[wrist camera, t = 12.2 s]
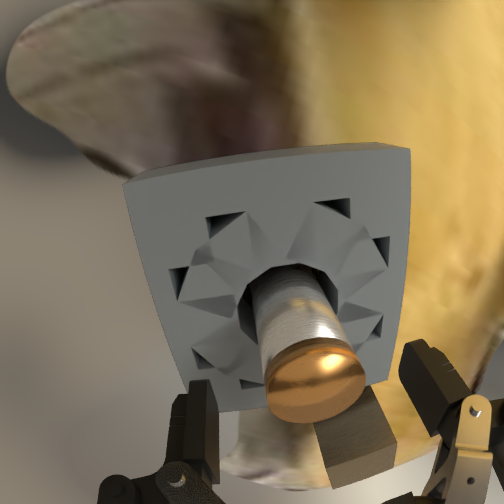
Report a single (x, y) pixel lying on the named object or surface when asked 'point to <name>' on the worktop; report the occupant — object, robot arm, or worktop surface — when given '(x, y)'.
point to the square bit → (356, 441)
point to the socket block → (273, 251)
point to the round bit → (302, 347)
